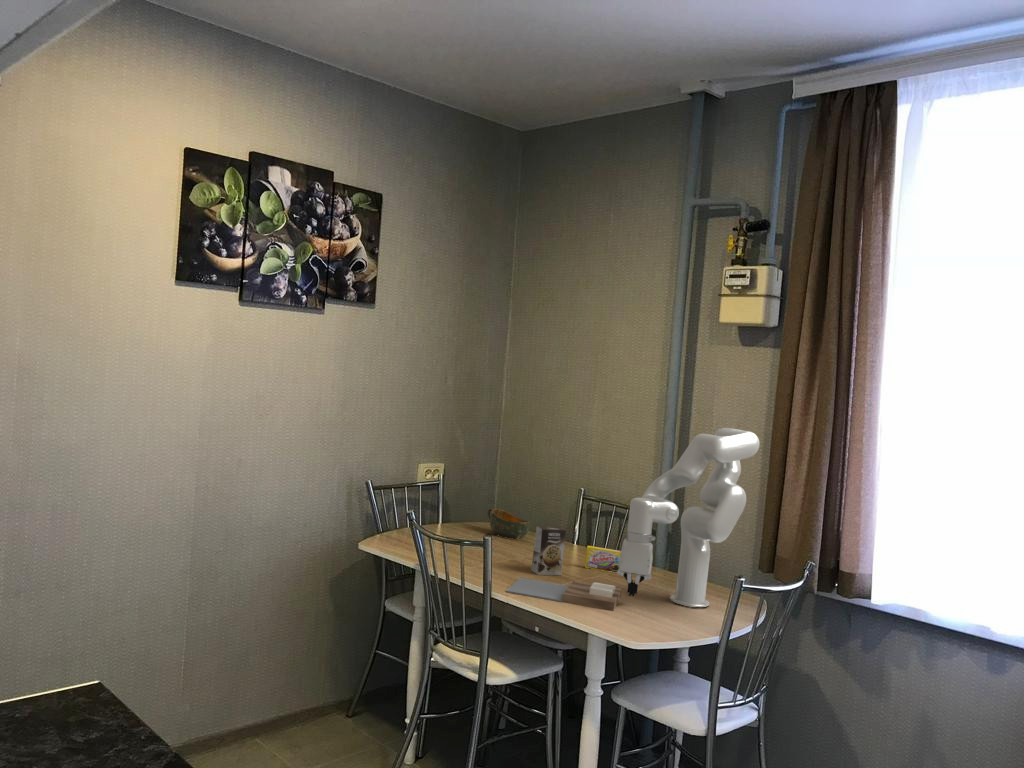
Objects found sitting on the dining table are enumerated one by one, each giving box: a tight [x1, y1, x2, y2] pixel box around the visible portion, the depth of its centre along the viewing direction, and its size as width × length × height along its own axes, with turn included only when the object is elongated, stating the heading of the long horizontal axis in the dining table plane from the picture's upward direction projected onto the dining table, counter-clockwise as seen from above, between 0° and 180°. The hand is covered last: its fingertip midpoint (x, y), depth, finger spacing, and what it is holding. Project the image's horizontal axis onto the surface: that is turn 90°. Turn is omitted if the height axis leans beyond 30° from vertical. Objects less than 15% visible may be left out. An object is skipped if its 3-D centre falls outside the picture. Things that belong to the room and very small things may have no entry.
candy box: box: [584, 545, 621, 573], centre depth 307 cm, size 16×2×8 cm, turn 76°
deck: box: [561, 580, 622, 611], centre depth 266 cm, size 18×16×2 cm
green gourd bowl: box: [487, 507, 531, 540], centre depth 351 cm, size 13×20×10 cm, turn 24°
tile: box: [589, 581, 616, 598], centre depth 265 cm, size 8×7×2 cm
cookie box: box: [530, 525, 567, 576], centre depth 294 cm, size 9×6×16 cm
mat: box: [505, 577, 570, 603], centre depth 270 cm, size 19×18×1 cm
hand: (631, 595), depth 262 cm, fingers closed
